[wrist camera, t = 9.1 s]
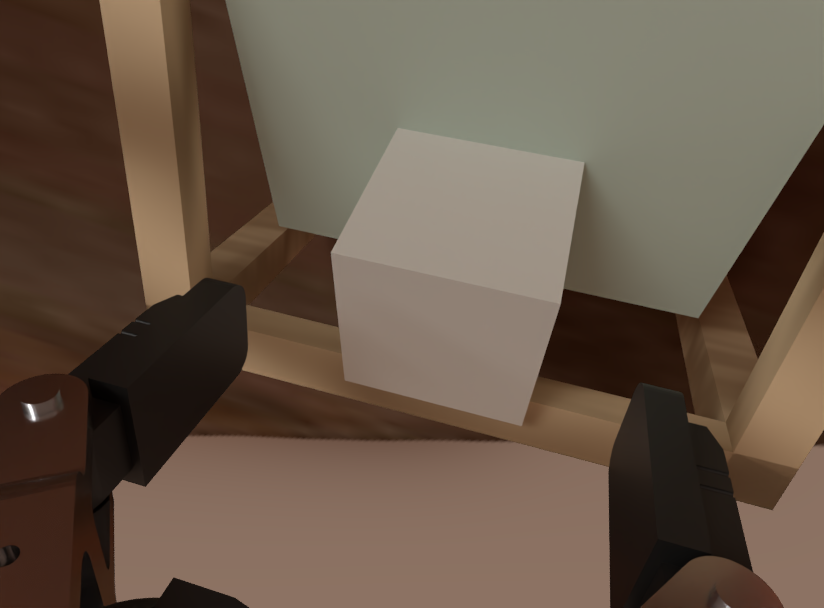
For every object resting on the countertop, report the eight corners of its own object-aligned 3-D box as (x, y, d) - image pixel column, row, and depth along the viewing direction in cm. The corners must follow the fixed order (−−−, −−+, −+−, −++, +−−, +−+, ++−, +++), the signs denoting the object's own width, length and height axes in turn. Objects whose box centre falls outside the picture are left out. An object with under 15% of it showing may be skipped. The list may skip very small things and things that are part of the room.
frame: (317, -210, 22) (45, -349, 11) (892, -156, 19) (1276, -278, 8) (310, 202, 30) (152, 346, 20) (705, 286, 27) (772, 509, 17)
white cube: (397, 128, 16) (330, 252, 13) (584, 162, 16) (560, 304, 12) (396, 259, 20) (344, 380, 17) (547, 292, 19) (521, 425, 16)
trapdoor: (187, -205, 13) (161, -190, 12) (984, -126, 10) (1001, -104, 10) (279, 204, 22) (268, 223, 21) (711, 296, 19) (711, 321, 19)
